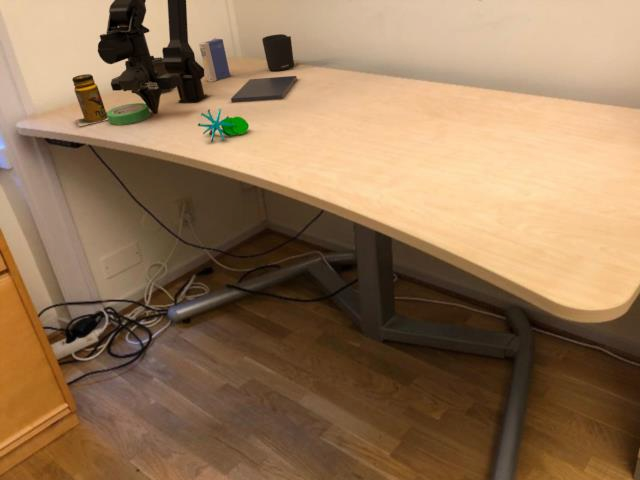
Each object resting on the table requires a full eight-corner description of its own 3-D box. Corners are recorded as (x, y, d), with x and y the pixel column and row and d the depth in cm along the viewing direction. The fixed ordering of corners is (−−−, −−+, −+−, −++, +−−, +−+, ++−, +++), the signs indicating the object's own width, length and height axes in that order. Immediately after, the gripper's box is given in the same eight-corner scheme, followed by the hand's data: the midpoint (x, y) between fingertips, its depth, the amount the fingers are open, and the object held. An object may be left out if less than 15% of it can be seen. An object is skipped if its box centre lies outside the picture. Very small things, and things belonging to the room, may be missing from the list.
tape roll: (118, 127, 156) (115, 117, 155) (103, 120, 164) (100, 111, 162) (157, 116, 162) (154, 106, 160) (141, 110, 169) (138, 100, 168)
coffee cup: (180, 88, 187) (172, 56, 182) (160, 95, 181) (151, 62, 176) (163, 87, 191) (154, 55, 186) (143, 94, 185) (134, 61, 180)
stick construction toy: (202, 137, 135) (198, 105, 135) (195, 148, 141) (191, 117, 141) (252, 139, 140) (248, 108, 141) (243, 150, 146) (239, 120, 147)
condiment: (111, 119, 164) (97, 75, 158) (80, 126, 160) (64, 82, 154) (105, 114, 169) (91, 71, 163) (75, 121, 166) (59, 78, 159)
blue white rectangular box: (225, 75, 197) (216, 37, 191) (230, 75, 196) (222, 38, 189) (206, 81, 192) (197, 42, 186) (211, 81, 191) (203, 43, 184)
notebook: (297, 79, 182) (296, 75, 182) (282, 99, 165) (282, 94, 164) (250, 83, 184) (249, 79, 184) (231, 102, 167) (230, 98, 166)
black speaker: (264, 72, 195) (258, 41, 190) (272, 65, 203) (267, 35, 197) (291, 70, 193) (286, 39, 188) (298, 64, 201) (293, 33, 196)
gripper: (88, 63, 148) (108, 123, 156) (151, 61, 142) (168, 123, 151) (115, 53, 157) (133, 110, 165) (175, 50, 151) (190, 110, 160)
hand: (155, 113), depth 160 cm, fingers closed
